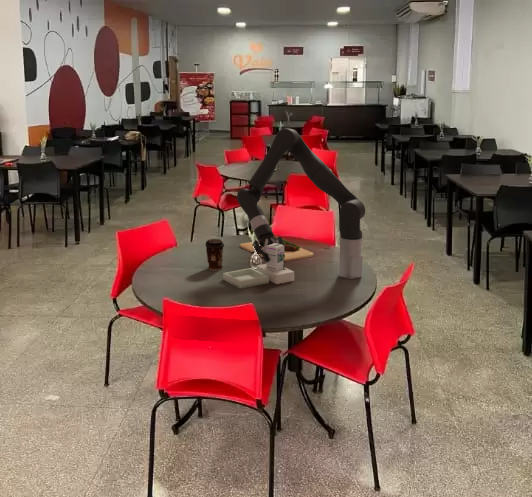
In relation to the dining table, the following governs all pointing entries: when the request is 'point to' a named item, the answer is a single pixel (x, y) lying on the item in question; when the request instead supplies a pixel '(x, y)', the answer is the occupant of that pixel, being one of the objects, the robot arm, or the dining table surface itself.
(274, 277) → the holder
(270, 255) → the syrup box
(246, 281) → the tray
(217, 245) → the coffee cup
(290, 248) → the cutting board
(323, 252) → the dining table surface
